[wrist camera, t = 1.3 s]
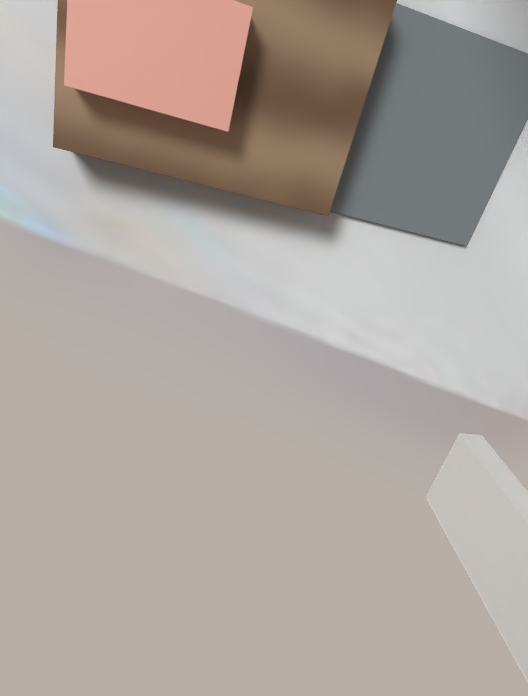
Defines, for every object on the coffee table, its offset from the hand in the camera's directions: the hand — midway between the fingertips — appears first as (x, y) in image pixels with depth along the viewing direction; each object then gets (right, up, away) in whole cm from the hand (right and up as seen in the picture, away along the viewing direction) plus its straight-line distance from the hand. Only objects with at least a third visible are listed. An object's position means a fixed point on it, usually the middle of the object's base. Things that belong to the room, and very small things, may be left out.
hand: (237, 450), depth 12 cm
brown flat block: (-2, +21, +16) cm, 26 cm away
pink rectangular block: (-5, +20, +12) cm, 24 cm away
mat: (+13, +18, +19) cm, 29 cm away
